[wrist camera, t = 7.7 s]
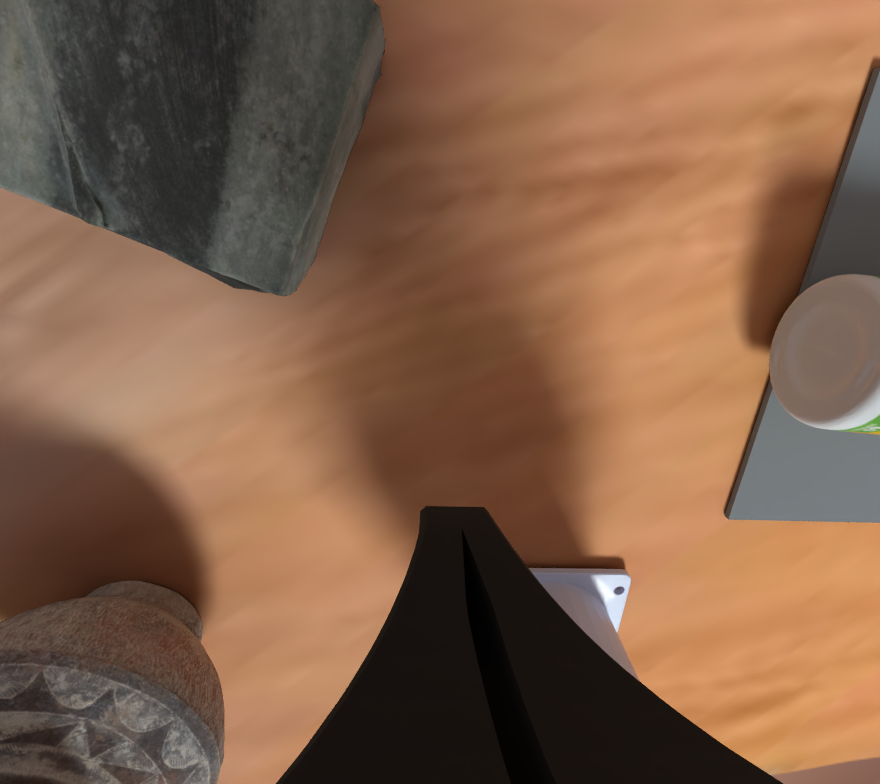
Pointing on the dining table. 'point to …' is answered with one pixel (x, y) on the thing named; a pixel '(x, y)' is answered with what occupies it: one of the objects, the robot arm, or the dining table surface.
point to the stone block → (190, 122)
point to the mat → (775, 432)
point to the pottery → (109, 691)
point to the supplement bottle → (831, 355)
